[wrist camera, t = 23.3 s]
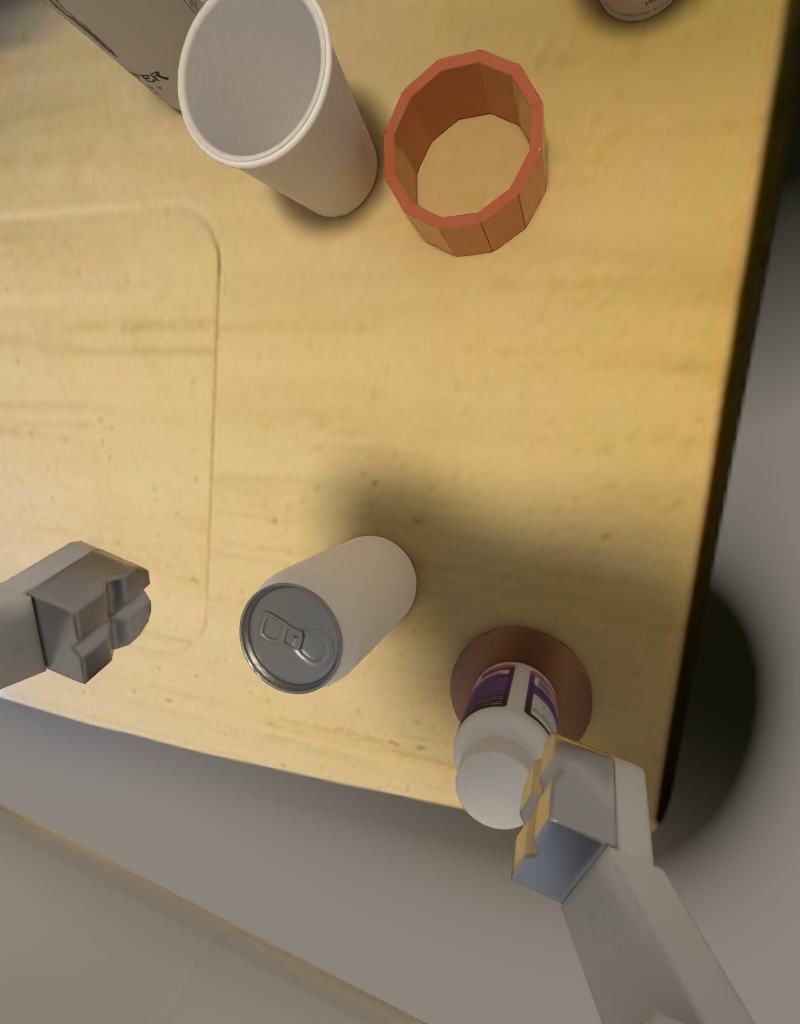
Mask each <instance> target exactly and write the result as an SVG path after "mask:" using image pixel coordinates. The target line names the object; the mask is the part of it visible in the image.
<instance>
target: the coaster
mask: <svg viewBox="0 0 800 1024" xmlns="http://www.w3.org/2000/svg"><path fill="white" fill-rule="evenodd" d="M504 662H518V663H523V664H526V665H528V666H531V667H533V668H534V669H536V670H538V671H539V672H540V673H542V674H543V675H544V676H545V677H546V678H547V679H548V681H549V682H550V684H551V685H552V687H553V689H554V691H555V694H556V697H557V703H558V727H557V734H559V735H562V736H564V737H567V738H569V739H572V740H575V741H577V742H578V741H579V739H580V738H581V737H582V735H583V734H584V732H585V731H586V728H587V726H588V724H589V721H590V717H591V711H592V694H591V688H590V683H589V680H588V677H587V675H586V673H585V671H584V669H583V667H582V665H581V664H580V662H579V661H578V659H577V658H576V657H575V655H574V654H573V653H572V652H571V651H570V650H569V649H568V648H567V647H566V646H565V645H563V644H562V643H561V642H559V641H558V640H556V639H555V638H553V637H551V636H549V635H547V634H545V633H542V632H540V631H537V630H533V629H530V628H523V627H504V628H499V629H495V630H491V631H489V632H486V633H484V634H482V635H481V636H479V637H477V638H476V639H474V640H473V641H472V642H471V643H470V644H469V645H468V646H467V647H466V648H465V649H464V650H463V652H462V653H461V654H460V656H459V658H458V660H457V662H456V664H455V667H454V669H453V672H452V677H451V698H452V703H453V707H454V710H455V713H456V715H457V717H458V719H459V721H460V723H461V720H462V718H463V715H464V713H465V710H466V708H467V705H468V702H469V699H470V697H471V694H472V691H473V689H474V686H475V684H476V682H477V680H478V679H479V677H480V676H481V675H482V674H483V672H485V671H486V670H487V669H488V668H490V667H492V666H494V665H496V664H499V663H504Z"/></svg>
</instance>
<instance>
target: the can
mask: <svg viewBox="0 0 800 1024" xmlns="http://www.w3.org/2000/svg"><path fill="white" fill-rule="evenodd" d="M415 594H416V575H415V571H414V568H413V565H412V563H411V561H410V560H409V558H408V556H407V555H406V554H405V553H404V551H403V550H402V549H401V548H400V547H398V546H397V545H396V544H394V543H393V542H391V541H389V540H387V539H385V538H382V537H378V536H361V537H357V538H354V539H352V540H349V541H347V542H344V543H342V544H340V545H337V546H335V547H333V548H330V549H328V550H326V551H324V552H321V553H319V554H317V555H315V556H312V557H310V558H308V559H306V560H303V561H301V562H299V563H297V564H294V565H292V566H290V567H288V568H286V569H284V570H282V571H280V572H278V573H276V574H274V575H273V576H272V577H270V578H269V579H268V580H266V581H265V582H264V583H263V585H262V586H261V587H260V588H259V590H258V591H257V592H256V593H255V594H254V595H253V596H252V597H251V599H250V600H249V601H248V603H247V604H246V606H245V608H244V610H243V613H242V616H241V621H240V641H241V646H242V649H243V652H244V655H245V657H246V659H247V661H248V663H249V665H250V666H251V668H252V669H253V670H254V672H255V673H256V674H257V675H258V676H259V677H260V678H261V679H262V680H263V681H264V682H266V683H267V684H268V685H270V686H272V687H273V688H275V689H277V690H280V691H283V692H286V693H291V694H305V693H310V692H313V691H315V690H317V689H319V688H322V687H326V686H329V685H332V684H334V683H336V682H338V681H339V680H341V679H342V678H343V677H345V676H346V675H347V674H348V673H349V672H350V671H351V670H352V669H353V668H354V667H355V666H356V665H357V664H358V663H359V662H360V661H361V660H362V659H363V658H364V657H365V656H366V655H367V654H368V653H369V652H370V651H371V650H372V649H373V648H374V647H375V646H376V645H377V644H378V643H379V642H380V641H381V640H382V639H383V638H384V637H385V636H386V635H387V634H388V633H389V632H390V631H391V629H392V628H393V627H394V626H395V625H396V624H397V623H398V622H399V621H400V620H401V619H402V618H403V617H404V616H405V615H406V613H407V612H408V611H409V610H410V608H411V606H412V604H413V601H414V598H415Z"/></svg>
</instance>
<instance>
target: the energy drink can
mask: <svg viewBox="0 0 800 1024" xmlns="http://www.w3.org/2000/svg"><path fill="white" fill-rule="evenodd" d="M44 1H45V2H46V3H48V4H49V5H50V6H51V7H52V8H54V9H55V10H56V11H57V12H58V13H60V14H61V15H62V16H63V17H64V18H65V19H67V20H68V21H69V22H70V23H71V24H73V25H74V26H75V27H76V28H77V29H79V30H80V31H81V32H82V33H83V34H84V35H86V36H87V37H88V38H89V39H90V40H92V41H93V42H94V43H95V44H96V45H98V46H99V47H100V48H101V49H102V50H103V51H105V52H106V53H107V54H108V55H109V56H111V57H112V58H113V59H114V60H115V61H117V62H118V63H119V64H120V65H121V66H122V67H124V68H125V69H126V70H127V71H128V72H130V73H131V74H132V75H133V76H134V77H136V78H137V79H138V80H139V81H140V82H141V83H143V84H144V85H145V86H146V87H147V88H149V89H150V90H151V91H152V92H153V93H155V94H156V95H157V96H158V97H159V98H160V99H162V100H163V101H164V102H165V103H167V104H168V105H169V106H171V107H173V108H175V109H178V110H181V108H180V103H179V96H178V70H179V62H180V57H181V53H182V49H183V45H184V42H185V39H186V36H187V34H188V31H189V29H190V27H191V25H192V23H193V21H194V19H195V18H196V16H197V14H198V13H199V11H200V10H201V8H202V7H203V6H204V5H203V4H202V2H201V1H200V0H44Z"/></svg>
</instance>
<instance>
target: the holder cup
mask: <svg viewBox="0 0 800 1024" xmlns="http://www.w3.org/2000/svg"><path fill="white" fill-rule="evenodd" d="M487 113H493V114H495V115H497V116H500V117H502V118H504V119H507V120H509V121H511V122H514V123H516V124H518V125H520V127H521V129H522V130H523V132H524V134H525V135H526V137H527V139H528V140H529V142H530V151H529V153H528V155H527V157H526V159H525V161H524V163H523V165H522V167H521V168H520V170H519V172H518V174H517V176H516V178H515V180H514V182H513V184H512V186H511V188H510V189H509V190H507V191H506V192H505V193H503V194H502V195H501V196H499V197H498V198H497V199H495V200H494V201H493V202H492V203H490V204H489V205H488V206H486V207H485V208H484V209H482V210H481V211H480V212H478V213H471V214H464V215H457V216H451V217H444V218H442V217H440V216H438V215H436V214H433V213H431V212H429V211H427V210H425V209H423V208H421V207H419V206H417V196H416V173H417V171H418V169H419V167H420V165H421V162H422V160H423V158H424V156H425V154H426V152H427V150H428V147H429V145H430V143H431V142H432V141H433V140H434V139H435V138H436V137H438V136H439V135H440V134H441V133H442V132H444V131H445V130H446V129H447V128H448V127H450V126H451V125H452V124H453V123H454V122H456V121H457V120H458V119H462V118H467V117H472V116H477V115H482V114H487ZM384 134H385V135H384V170H385V178H386V182H387V183H388V185H389V187H390V189H391V190H392V192H393V194H394V195H395V197H396V199H397V201H398V202H399V204H400V206H401V207H402V209H403V211H404V212H405V214H406V215H407V217H408V218H409V219H410V221H411V222H412V224H413V225H414V226H415V228H416V229H417V230H418V232H419V233H420V235H421V236H422V237H423V239H424V240H425V241H426V242H428V243H430V244H432V245H434V246H436V247H438V248H440V249H442V250H444V251H446V252H448V253H450V254H452V255H454V256H464V255H472V254H480V253H488V252H492V251H494V250H496V249H497V248H499V247H500V246H501V245H503V244H504V243H505V242H507V241H508V240H510V239H511V238H512V237H514V236H515V235H517V234H518V233H519V232H521V231H522V230H523V229H525V227H527V225H528V223H529V221H530V219H531V217H532V215H533V213H534V212H535V210H536V208H537V206H538V204H539V202H540V200H541V198H542V197H543V195H544V193H545V189H546V163H547V147H546V135H545V122H544V110H543V103H542V100H541V99H540V97H539V95H538V94H537V92H536V90H535V89H534V87H533V85H532V84H531V82H530V80H529V79H528V77H527V75H526V74H525V72H524V70H523V69H522V67H521V66H519V64H517V63H514V62H512V61H509V60H507V59H504V58H502V57H499V56H497V55H494V54H492V53H489V52H487V51H484V50H482V51H481V50H476V51H472V52H468V53H464V54H459V55H455V56H451V57H447V58H442V59H439V61H438V60H437V61H436V62H435V63H434V64H432V65H431V66H430V67H429V68H428V69H427V70H426V71H425V72H423V73H422V74H421V75H420V76H419V77H418V78H417V79H416V80H414V81H413V82H412V83H411V84H410V85H409V86H408V87H407V88H405V89H404V92H402V94H401V96H400V99H399V101H398V103H397V105H396V108H395V110H394V112H393V114H392V117H391V119H390V121H389V123H388V126H387V128H386V130H385V133H384Z"/></svg>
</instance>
